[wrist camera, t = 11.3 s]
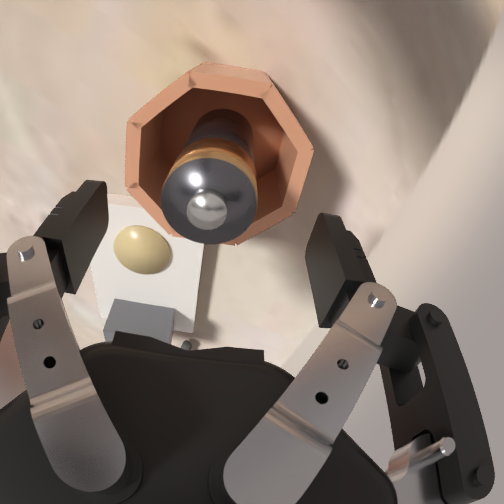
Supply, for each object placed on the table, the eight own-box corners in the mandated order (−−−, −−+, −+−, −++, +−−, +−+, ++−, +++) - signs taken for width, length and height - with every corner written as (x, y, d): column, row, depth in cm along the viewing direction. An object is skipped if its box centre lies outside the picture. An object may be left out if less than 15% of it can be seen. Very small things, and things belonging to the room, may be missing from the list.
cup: (161, 58, 17) (131, 67, 12) (307, 81, 18) (329, 98, 14) (149, 184, 23) (125, 229, 18) (274, 203, 24) (281, 252, 19)
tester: (89, 190, 23) (57, 233, 18) (209, 207, 24) (201, 255, 20) (104, 306, 31) (89, 351, 27) (194, 322, 33) (188, 369, 28)
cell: (196, 103, 18) (159, 158, 11) (259, 114, 19) (269, 176, 12) (188, 160, 21) (154, 245, 13) (247, 169, 22) (246, 260, 14)
